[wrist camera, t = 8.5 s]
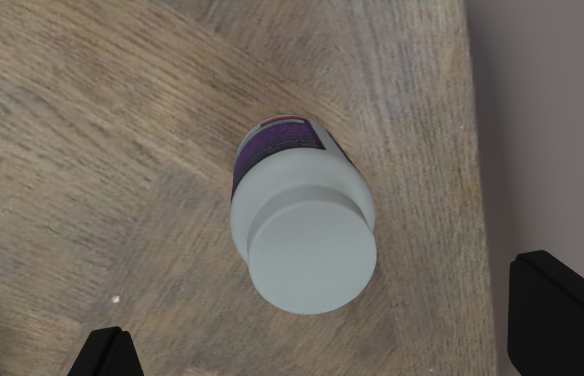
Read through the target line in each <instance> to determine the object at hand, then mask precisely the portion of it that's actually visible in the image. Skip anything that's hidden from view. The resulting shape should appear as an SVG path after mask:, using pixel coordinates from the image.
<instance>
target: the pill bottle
mask: <svg viewBox="0 0 584 376" xmlns="http://www.w3.org/2000/svg"><path fill="white" fill-rule="evenodd" d="M374 226H375V205H374V200H373V196H372V193H371V191H370V189H369V187H368V184H367V183H366V181H365V180H364V178H363V176H362V175H361V173H360V172H359V170H358V169H357V168H356V167H355V165H354V164H353V163H352V161H351V160H350V159H349V157H348V156H347V155H346V153H345V152H344V151H343V149H342V148H341V147H340V145H339V144H338V143H337V141H336V140H335V139H334V138H333V136H332V135H331V134H330V133H329V132H328V131H327V130H326V129H325V128H324V127H323V126H321V125H320V124H319V123H317V122H315V121H314V120H311V119H309V118H306V117H303V116H299V115H279V116H274V117H271V118H268V119H266V120H264V121H262V122H260V123H259V124H257V125H256V126H255V127H253V128H252V129H251V130H250V131H249V132H248V133H247V135H246V136H245V137H244V139H243V140H242V142H241V144H240V146H239V148H238V151H237V154H236V158H235V164H234V177H233V188H232V197H231V205H230V230H231V235H232V239H233V242H234V244H235V246H236V249H237V251H238V252H239V254H240V256H241V257H242V258H243V260H244V261H245V262H246V263H247V264H248V269H249V273H250V277H251V280H252V282H253V284H254V286H255V287H256V289H257V291H258V292H259V293H260V294H261V295H262V296H263V297H264V298H265V299H266V300H267V301H268V302H270V303H271V304H273V305H274V306H276V307H278V308H280V309H282V310H285V311H288V312H291V313H296V314H306V315H308V314H320V313H325V312H329V311H332V310H335V309H337V308H340V307H342V306H343V305H345V304H347V303H348V302H350V301H351V300H353V299H354V298H355V297H356V296H357V295H358V294H359V293H360V292H361V291H362V290H363V289H364V288H365V286H366V285H367V284H368V282H369V280H370V278H371V276H372V274H373V272H374V268H375V265H376V258H377V250H376V242H375V238H374V235H373V231H374Z"/></svg>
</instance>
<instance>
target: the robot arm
mask: <svg viewBox="0 0 584 376" xmlns="http://www.w3.org/2000/svg"><path fill="white" fill-rule="evenodd" d="M507 350H508V355H509V358H510V360H511V362H512V364H513V365H514V367H515V368H516V369H517V371H518V372H519V373H520V374H521V375H522V376H584V278H583V277H581V276H580V275H578V274H577V273H575V272H574V271H573V270H571V269H570V268H569V267H567V266H566V265H564V264H563V263H562V262H560V261H559V260H558V259H556V258H555V257H553V256H552V255H551V254H549V253H548V252H546V251H544V250H539V251H533V252H528V253H523V254H519V255H517V257H516V259H515V261H513V262H511V264H510V278H509V312H508V347H507ZM67 376H144V374H143V371H142V368H141V365H140V362H139V359H138V356H137V353H136V350H135V347H134V344H133V341H132V338H131V335H130V333H129V332H128V331H122V329H121V328H120V327H118V326H115V327H109V328H104V329H98V330H94V331H92V332H91V333H90V335H89V337H88V338H87V340H86V342H85V344H84V346H83V348H82V349H81V351H80V353H79V355H78V357H77V359H76V360H75V362H74V364H73V366H72V368H71V370H70V371H69V373H68V375H67Z"/></svg>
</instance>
